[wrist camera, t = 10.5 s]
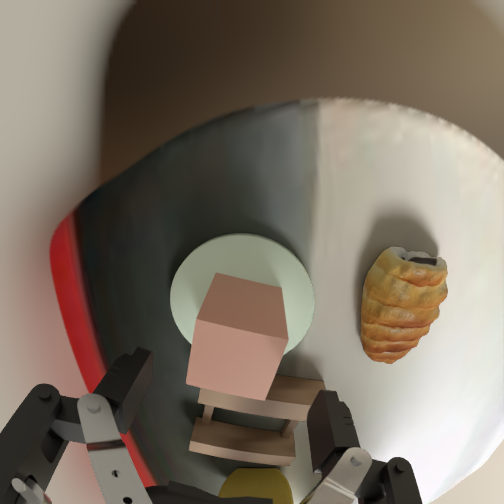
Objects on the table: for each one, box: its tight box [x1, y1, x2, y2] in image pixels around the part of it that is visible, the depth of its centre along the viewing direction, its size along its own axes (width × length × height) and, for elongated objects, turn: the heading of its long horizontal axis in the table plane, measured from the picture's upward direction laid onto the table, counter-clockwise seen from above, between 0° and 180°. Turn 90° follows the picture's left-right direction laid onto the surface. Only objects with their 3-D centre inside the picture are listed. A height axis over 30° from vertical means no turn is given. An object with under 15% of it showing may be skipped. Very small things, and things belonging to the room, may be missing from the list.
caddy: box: [189, 374, 326, 466], centre depth 22 cm, size 10×10×3 cm
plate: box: [170, 233, 315, 355], centre depth 20 cm, size 10×10×1 cm
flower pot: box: [218, 468, 293, 504], centre depth 23 cm, size 9×9×9 cm
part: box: [186, 272, 289, 401], centre depth 16 cm, size 4×4×6 cm
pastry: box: [361, 246, 448, 364], centre depth 18 cm, size 9×7×4 cm
